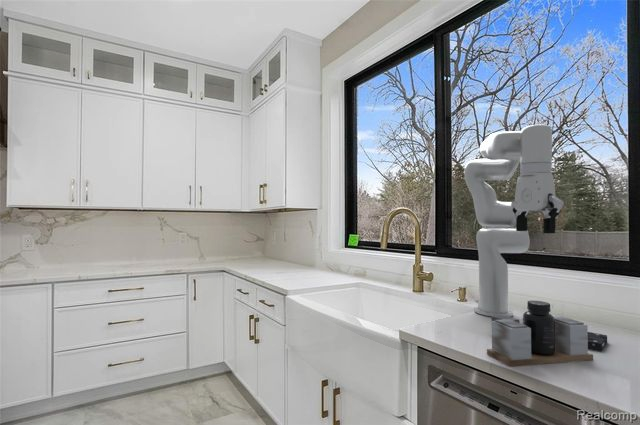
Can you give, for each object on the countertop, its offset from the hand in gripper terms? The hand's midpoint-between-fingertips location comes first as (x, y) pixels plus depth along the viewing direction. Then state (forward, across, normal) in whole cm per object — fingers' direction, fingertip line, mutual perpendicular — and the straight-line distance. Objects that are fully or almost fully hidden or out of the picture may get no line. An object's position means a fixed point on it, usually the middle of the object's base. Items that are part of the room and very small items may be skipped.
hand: (534, 232), depth 99 cm
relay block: (+31, -6, -4) cm, 32 cm away
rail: (+30, +11, -8) cm, 33 cm away
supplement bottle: (+29, +11, -8) cm, 32 cm away
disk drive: (+31, +2, +11) cm, 33 cm away
